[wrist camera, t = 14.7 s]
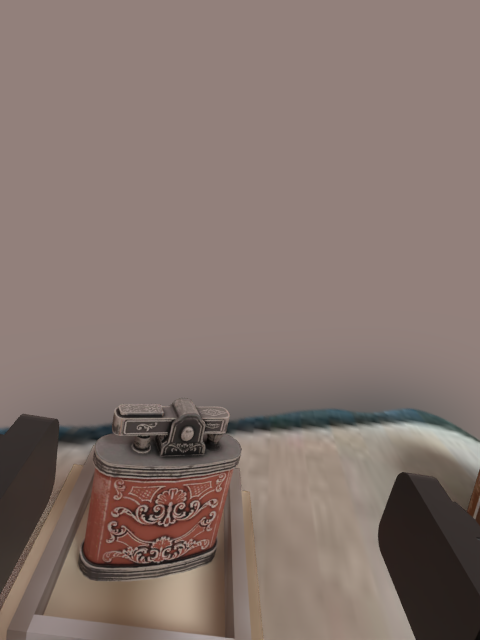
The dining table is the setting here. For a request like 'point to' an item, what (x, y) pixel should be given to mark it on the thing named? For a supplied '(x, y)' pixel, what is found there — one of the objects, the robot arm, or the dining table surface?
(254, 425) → the dining table surface
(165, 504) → the lighter
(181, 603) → the tray
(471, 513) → the food container
